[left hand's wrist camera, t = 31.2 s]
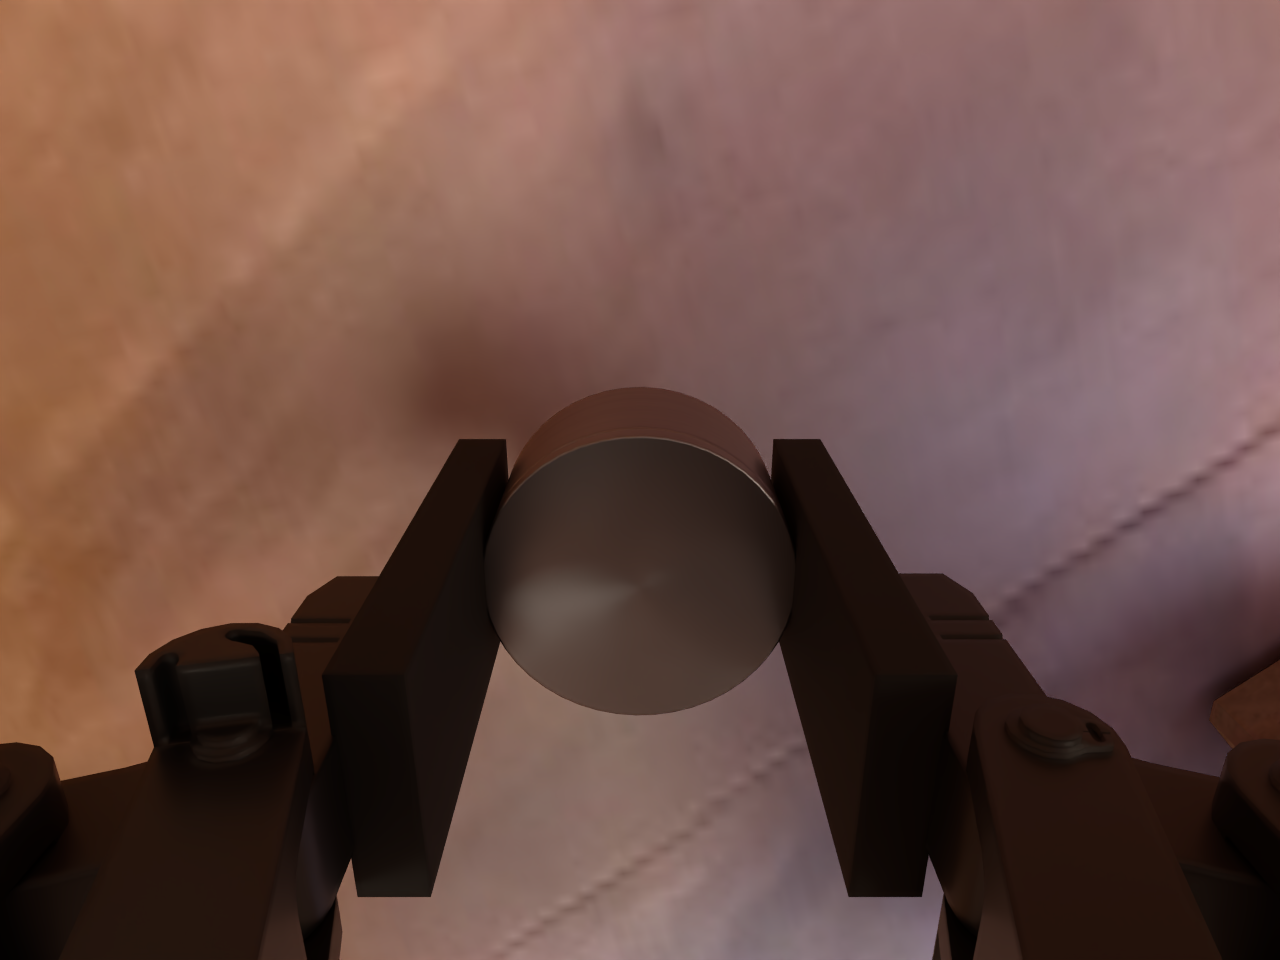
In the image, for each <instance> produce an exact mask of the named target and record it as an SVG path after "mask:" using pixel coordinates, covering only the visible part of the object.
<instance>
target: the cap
mask: <svg viewBox="0 0 1280 960" xmlns="http://www.w3.org/2000/svg"><path fill="white" fill-rule="evenodd" d="M795 563H796V550H795V547H794V543H793V539H792V535H791V532H790V530H789V527H788V524H787V522H786V519H785V516H784V514H783V511H782V508H781V506H780V503H779V500H778V498H777V495H776V492H775V490H774V487H773V484H772V482H771V479H770V476H769V474H768V471H767V469H766V467H765V464H764V462H763V460H762V457H761V456H760V454H759V452H758V451H757V449H756V448H755V446H754V444H753V443H752V442H751V440H750V439H749V438H748V437H747V436H746V434H745V433H744V432H743V431H742V429H740V428H739V427H738V426H737V425H736V424H735V423H734V422H733V421H732V420H731V419H730V418H728V417H727V416H726V415H724V414H723V413H721V412H720V411H718V410H717V409H715V408H714V407H712V406H710V405H708V404H706V403H704V402H702V401H700V400H699V399H696V398H693V397H691V396H688V395H685V394H682V393H679V392H674V391H670V390H665V389H658V388H647V387H634V388H621V389H615V390H609V391H605V392H601V393H598V394H595V395H591V396H588V397H586V398H584V399H581V400H579V401H577V402H575V403H573V404H571V405H569V406H568V407H566V408H564V409H563V410H561V411H559V412H558V413H556V414H555V415H554V416H553V417H551V418H550V419H549V420H548V421H547V422H545V423H544V424H543V425H542V426H541V427H540V428H539V429H538V430H537V431H536V432H535V434H534V435H533V436H532V437H531V438H530V440H529V441H528V442H527V444H526V445H525V447H524V448H523V450H522V451H521V453H520V455H519V457H518V459H517V461H516V463H515V465H514V467H513V470H512V472H511V475H510V478H509V480H508V483H507V486H506V488H505V491H504V494H503V496H502V499H501V501H500V504H499V507H498V509H497V512H496V515H495V518H494V520H493V523H492V525H491V528H490V531H489V534H488V537H487V540H486V543H485V548H484V572H485V585H486V599H487V610H488V616H489V619H490V621H491V623H492V626H493V628H494V630H495V633H496V634H497V636H498V638H499V639H500V641H501V643H502V644H503V646H504V648H505V649H506V650H507V652H508V653H509V654H510V655H511V657H512V658H513V659H514V660H515V662H516V663H517V664H518V665H519V666H520V667H521V668H522V669H523V670H524V671H525V672H526V673H527V674H528V675H529V676H530V677H532V678H533V679H534V680H536V681H537V682H538V683H540V684H541V685H542V686H544V687H545V688H547V689H549V690H550V691H552V692H554V693H555V694H557V695H559V696H561V697H563V698H565V699H567V700H570V701H572V702H574V703H576V704H579V705H582V706H585V707H588V708H592V709H595V710H599V711H604V712H609V713H615V714H625V715H656V714H663V713H671V712H676V711H680V710H684V709H688V708H692V707H695V706H697V705H700V704H703V703H705V702H708V701H711V700H712V699H714V698H716V697H718V696H720V695H722V694H724V693H726V692H728V691H729V690H731V689H732V688H734V687H735V686H737V685H738V684H740V683H741V682H743V681H744V680H745V679H746V678H747V677H749V676H750V675H751V674H752V673H753V672H754V671H755V670H757V669H758V667H759V666H760V665H761V664H762V663H763V662H764V661H765V660H766V659H767V657H768V656H769V655H770V654H771V652H772V651H773V649H774V648H775V646H776V645H777V643H778V642H779V641H780V639H781V637H782V635H783V633H784V631H785V629H786V627H787V625H788V622H789V619H790V616H791V613H792V604H793V591H794V578H795Z"/></svg>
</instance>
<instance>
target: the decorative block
mask: <svg viewBox="0 0 1280 960" xmlns="http://www.w3.org/2000/svg"><path fill="white" fill-rule="evenodd" d="M1209 721H1210V722H1211V723H1212V724H1213V726H1214V727H1215V728H1216V729H1217V731H1218V732H1219V733H1220V734H1221V736H1222V737H1223V738H1224V739H1225V740H1226V742H1227V743H1228V744H1229V745H1230V747H1231V748H1232V749H1233V748H1234V747H1235V746H1237V745H1238V744H1239V743H1240V742H1245V741H1251V740H1257V739H1263V738H1265V739H1274V740H1280V660H1279V661H1277V662H1275V663H1274V664H1272V665H1271V666H1269V667H1267V668H1266V669H1264V670H1263V671H1261V672H1259V673H1258V674H1256V675H1255V676H1253V677H1252V678H1250V679H1248V680H1247V681H1245V682H1244V683H1242V684H1240V685H1239V686H1237V687H1236V688H1234V689H1232V690H1231V691H1229V692H1228V693H1226V694H1224V695H1223V696H1221V697H1220V698H1218V699H1216V700H1215V701H1214V702H1213V706H1212V710H1211V714H1210V718H1209Z"/></svg>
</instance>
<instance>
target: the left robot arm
mask: <svg viewBox="0 0 1280 960" xmlns="http://www.w3.org/2000/svg"><path fill="white" fill-rule="evenodd" d="M771 482H772V484H773V487H774V490H775V492H776V495H777V498H778V500H779V503H780V506H781V508H782V511H783V514H784V516H785V519H786V522H787V524H788V527H789V530H790V532H791V535H792V539H793V543H794V547H795V550H796V563H795V578H794V591H793V604H792V613H791V616H790V619H789V622H788V625H787V627H786V629H785V631H784V633H783V635H782V637H781V639H780V641H779V643H780V646H781V650H782V654H783V657H784V661H785V665H786V668H787V672H788V676H789V679H790V683H791V687H792V690H793V694H794V698H795V701H796V705H797V709H798V712H799V716H800V720H801V723H802V727H803V731H804V735H805V738H806V742H807V746H808V749H809V753H810V757H811V760H812V764H813V768H814V771H815V775H816V779H817V782H818V786H819V790H820V793H821V797H822V801H823V804H824V808H825V812H826V815H827V819H828V823H829V826H830V830H831V834H832V837H833V841H834V845H835V848H836V852H837V856H838V859H839V863H840V867H841V870H842V874H843V878H844V881H845V885H846V889H847V892H848V896H849V897H922V893H923V886H924V880H925V874H926V868H927V862H928V856H930V859H931V861H932V864H933V866H934V869H935V871H936V874H937V876H938V879H939V881H940V884H941V886H942V889H943V891H944V895H943V901H942V907H941V912H940V918H939V924H938V930H937V935H936V941H935V947H934V953H933V958H932V960H1280V740H1274V739H1265V738H1263V739H1257V740H1251V741H1245V742H1240V743H1239V744H1238V745H1237V746H1235V747H1234V748H1233V749H1232V750H1231V751H1229V752H1228V753H1227V756H1226V759H1225V763H1224V766H1223V769H1222V772H1221V775H1220V777H1216V776H1211V775H1206V774H1202V773H1197V772H1192V771H1187V770H1182V769H1177V768H1172V767H1167V766H1163V765H1158V764H1153V763H1150V762H1146V761H1142V760H1138V759H1135V758H1131V756H1130V754H1129V752H1128V749H1127V747H1126V745H1125V744H1124V743H1123V741H1122V740H1121V739H1120V737H1119V736H1118V735H1117V733H1116V732H1115V731H1114V729H1113V728H1112V727H1110V726H1109V725H1107V724H1106V723H1105V722H1103V721H1102V720H1100V719H1099V718H1098V717H1096V716H1095V715H1093V714H1092V713H1091V712H1089V711H1086V710H1084V709H1082V708H1079V707H1077V706H1075V705H1072V704H1070V703H1068V702H1066V701H1063V700H1059V699H1054V698H1050V697H1047V696H1046V695H1045V693H1044V692H1043V690H1042V689H1041V688H1040V686H1039V685H1038V684H1037V682H1036V681H1035V679H1034V678H1033V677H1032V675H1031V674H1030V672H1029V671H1028V670H1027V668H1026V667H1025V665H1024V664H1023V663H1022V661H1021V660H1020V658H1019V657H1018V656H1017V654H1016V653H1015V652H1014V650H1013V649H1012V647H1011V646H1010V645H1009V643H1008V642H1007V640H1006V639H1002V633H1001V632H1000V631H999V629H998V628H997V626H996V625H995V624H994V622H993V621H992V620H989V615H988V614H987V613H986V611H985V610H984V608H983V607H982V606H981V604H980V603H979V601H978V600H977V599H976V597H975V596H974V594H973V593H972V592H970V591H969V590H967V589H965V588H964V587H962V586H961V585H959V584H958V583H956V582H955V581H953V580H952V579H950V578H949V577H947V576H946V575H944V574H899V573H898V572H897V570H896V568H895V566H894V565H893V563H892V561H891V560H890V558H889V556H888V554H887V553H886V551H885V549H884V548H883V546H882V544H881V542H880V541H879V539H878V537H877V536H876V534H875V532H874V530H873V529H872V527H871V525H870V524H869V522H868V520H867V519H866V517H865V515H864V513H863V512H862V510H861V508H860V507H859V505H858V503H857V501H856V500H855V498H854V496H853V495H852V493H851V491H850V489H849V488H848V486H847V484H846V483H845V481H844V479H843V477H842V476H841V474H840V472H839V471H838V469H837V467H836V465H835V464H834V462H833V460H832V459H831V457H830V455H829V453H828V452H827V450H826V448H825V447H824V445H823V443H822V441H821V440H820V439H773V456H772V472H771ZM507 483H508V465H507V449H506V439H459V440H458V442H457V444H456V446H455V447H454V449H453V451H452V452H451V454H450V456H449V458H448V459H447V461H446V463H445V464H444V466H443V468H442V470H441V471H440V473H439V475H438V476H437V478H436V480H435V482H434V483H433V485H432V487H431V488H430V490H429V492H428V494H427V495H426V497H425V499H424V500H423V502H422V504H421V506H420V507H419V509H418V511H417V512H416V514H415V516H414V517H413V519H412V521H411V523H410V524H409V526H408V528H407V529H406V531H405V533H404V535H403V536H402V538H401V540H400V541H399V543H398V545H397V547H396V548H395V550H394V552H393V553H392V555H391V557H390V559H389V560H388V562H387V564H386V565H385V567H384V569H383V571H382V572H381V574H380V576H337V577H335V578H334V579H332V580H331V581H329V582H328V583H326V584H325V585H323V586H322V587H320V588H319V589H317V590H316V591H314V592H313V593H311V594H310V595H308V596H307V597H306V599H305V600H304V601H303V603H302V604H301V606H300V607H299V608H298V610H297V611H296V613H295V614H294V615H293V617H292V618H291V623H288V624H287V625H286V627H285V628H284V629H283V631H282V630H281V629H279V628H276V627H272V626H268V625H264V624H260V623H230V624H225V625H220V626H215V627H210V628H205V629H200V630H198V631H195V632H192V633H190V634H187V635H184V636H182V637H179V638H176V639H174V640H172V641H170V642H168V643H167V644H165V645H164V646H162V647H160V648H159V649H157V650H155V651H154V652H152V653H151V654H149V655H148V656H147V657H146V658H145V660H144V661H143V662H142V663H141V664H140V665H139V666H138V667H137V668H136V670H135V674H136V678H137V682H138V686H139V690H140V694H141V698H142V702H143V705H144V709H145V713H146V717H147V721H148V725H149V729H150V733H151V737H152V740H153V744H154V749H153V751H152V753H151V755H150V758H149V760H148V762H144V763H141V764H137V765H133V766H130V767H126V768H121V769H116V770H111V771H107V772H102V773H97V774H92V775H87V776H82V777H78V778H73V779H68V780H63V781H60V778H59V775H58V771H57V768H56V765H55V762H54V759H53V757H52V756H51V755H50V754H49V753H48V752H46V751H45V750H44V749H43V748H42V747H40V746H35V745H29V744H23V743H17V742H16V743H6V744H0V960H339V957H340V948H341V939H342V926H341V919H340V913H339V907H338V901H337V892H338V890H339V887H340V884H341V882H342V879H343V877H344V874H345V872H346V869H347V867H348V864H349V862H350V859H352V865H353V871H354V878H355V884H356V890H357V896H358V897H431V894H432V890H433V887H434V883H435V879H436V876H437V872H438V868H439V865H440V861H441V857H442V854H443V850H444V846H445V843H446V839H447V835H448V832H449V828H450V824H451V821H452V817H453V813H454V810H455V806H456V802H457V799H458V795H459V791H460V788H461V784H462V780H463V777H464V773H465V769H466V766H467V762H468V758H469V755H470V751H471V747H472V744H473V740H474V736H475V732H476V729H477V725H478V721H479V718H480V714H481V710H482V707H483V703H484V699H485V696H486V692H487V688H488V685H489V681H490V677H491V674H492V670H493V666H494V663H495V659H496V655H497V652H498V648H499V644H500V639H499V638H498V636H497V634H496V633H495V630H494V628H493V626H492V623H491V621H490V619H489V616H488V610H487V599H486V585H485V572H484V548H485V543H486V540H487V537H488V534H489V531H490V528H491V525H492V523H493V520H494V518H495V515H496V512H497V509H498V507H499V504H500V501H501V499H502V496H503V494H504V491H505V488H506V486H507Z"/></svg>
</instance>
